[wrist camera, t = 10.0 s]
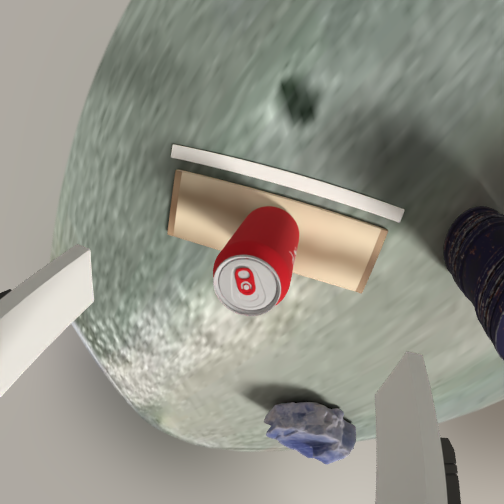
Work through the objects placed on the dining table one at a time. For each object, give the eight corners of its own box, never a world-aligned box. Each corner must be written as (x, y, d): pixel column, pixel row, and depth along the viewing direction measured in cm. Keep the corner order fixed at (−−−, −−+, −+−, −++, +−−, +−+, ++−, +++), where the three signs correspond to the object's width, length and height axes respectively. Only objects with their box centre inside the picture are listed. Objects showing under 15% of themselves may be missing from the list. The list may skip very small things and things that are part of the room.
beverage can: (248, 259, 36) (215, 321, 25) (238, 207, 34) (197, 252, 23) (303, 256, 34) (291, 321, 24) (296, 201, 32) (281, 246, 21)
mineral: (363, 459, 36) (316, 481, 40) (364, 416, 45) (323, 441, 48) (291, 415, 36) (247, 442, 40) (302, 372, 45) (263, 402, 49)
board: (178, 169, 34) (175, 170, 33) (387, 229, 32) (388, 231, 31) (169, 232, 38) (167, 234, 37) (361, 290, 35) (361, 293, 35)
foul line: (173, 144, 33) (172, 144, 33) (403, 209, 30) (404, 210, 30) (171, 156, 34) (170, 157, 33) (399, 221, 31) (399, 222, 31)
